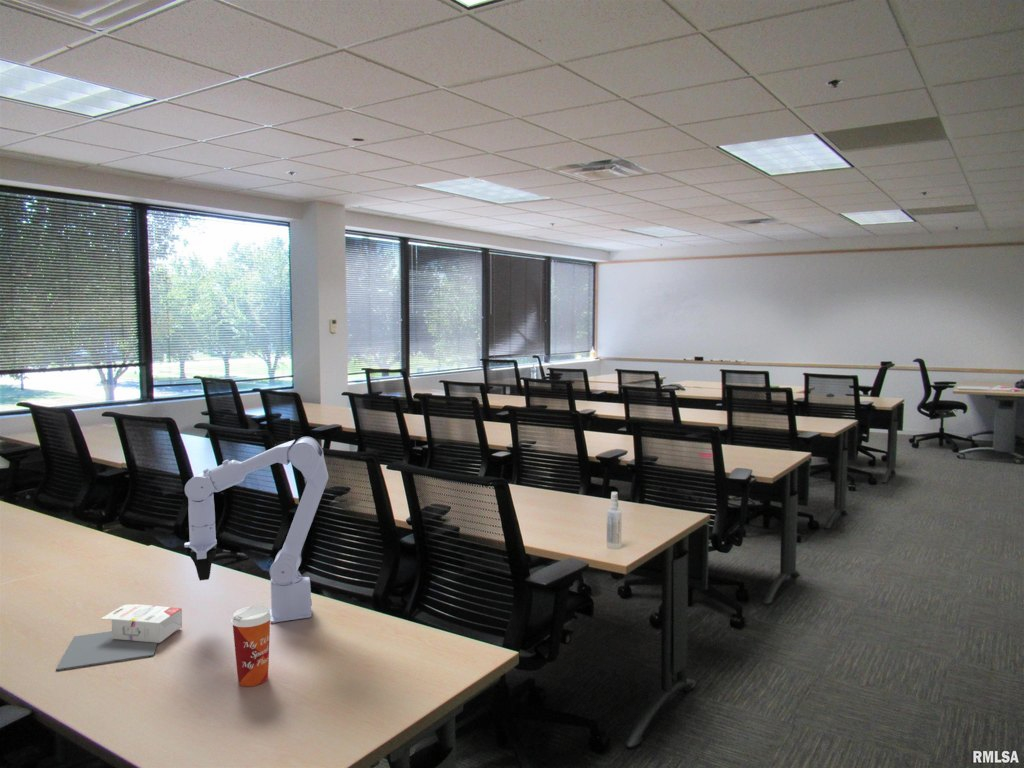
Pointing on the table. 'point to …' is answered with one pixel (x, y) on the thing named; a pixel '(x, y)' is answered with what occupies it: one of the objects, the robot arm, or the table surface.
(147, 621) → the ink cartridge box
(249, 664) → the paper cup
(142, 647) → the mat
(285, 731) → the table surface
